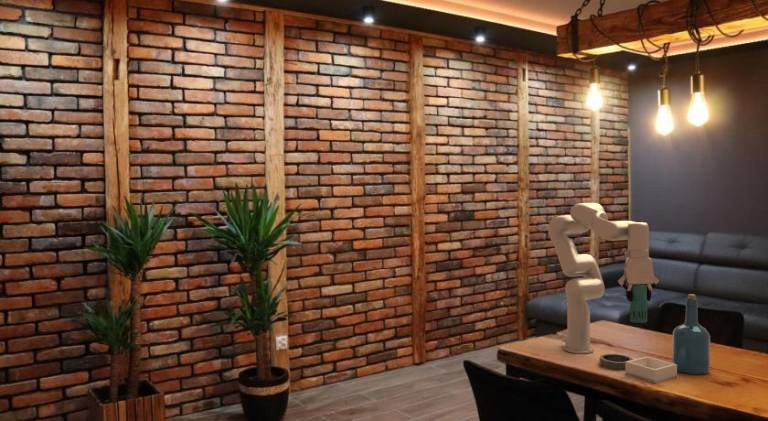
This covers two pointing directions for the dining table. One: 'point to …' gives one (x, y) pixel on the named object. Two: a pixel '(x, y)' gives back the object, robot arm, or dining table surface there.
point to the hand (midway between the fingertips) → (638, 300)
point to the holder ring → (614, 361)
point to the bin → (651, 369)
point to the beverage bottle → (639, 303)
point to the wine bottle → (691, 342)
